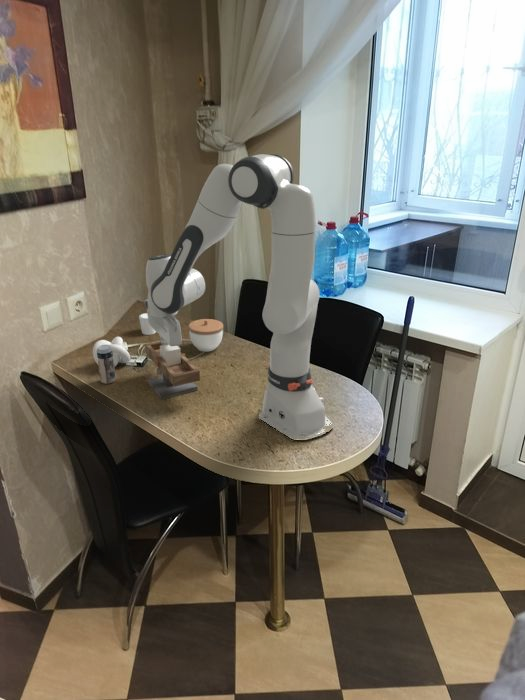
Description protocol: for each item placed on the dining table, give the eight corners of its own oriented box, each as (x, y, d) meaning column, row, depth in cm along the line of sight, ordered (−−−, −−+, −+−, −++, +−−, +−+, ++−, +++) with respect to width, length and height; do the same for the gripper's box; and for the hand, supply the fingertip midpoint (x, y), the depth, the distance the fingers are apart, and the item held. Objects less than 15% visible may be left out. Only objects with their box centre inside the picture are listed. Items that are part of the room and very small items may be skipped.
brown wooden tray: (206, 399, 152) (205, 369, 148) (169, 409, 147) (167, 378, 142) (175, 366, 172) (174, 338, 167) (141, 374, 166) (139, 345, 162)
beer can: (111, 385, 159) (107, 351, 154) (97, 383, 160) (93, 349, 155) (118, 378, 163) (114, 345, 158) (104, 376, 164) (100, 343, 159)
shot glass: (152, 327, 203) (151, 311, 200) (161, 332, 198) (159, 316, 195) (137, 331, 199) (135, 314, 196) (145, 336, 194) (144, 320, 191)
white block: (181, 363, 155) (180, 348, 153) (166, 366, 153) (165, 351, 151) (175, 357, 159) (174, 342, 157) (160, 360, 157) (159, 345, 155)
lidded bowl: (182, 346, 187) (181, 319, 182) (210, 338, 195) (209, 311, 190) (202, 357, 179) (201, 329, 174) (230, 348, 186) (230, 321, 182)
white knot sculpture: (103, 376, 164) (100, 351, 160) (88, 363, 172) (84, 339, 169) (134, 366, 171) (132, 342, 167) (118, 354, 179) (115, 331, 175)
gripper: (186, 316, 146) (187, 359, 151) (161, 296, 161) (164, 335, 167) (165, 320, 143) (168, 363, 148) (142, 299, 159) (146, 338, 164)
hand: (165, 348), depth 158 cm, fingers closed
